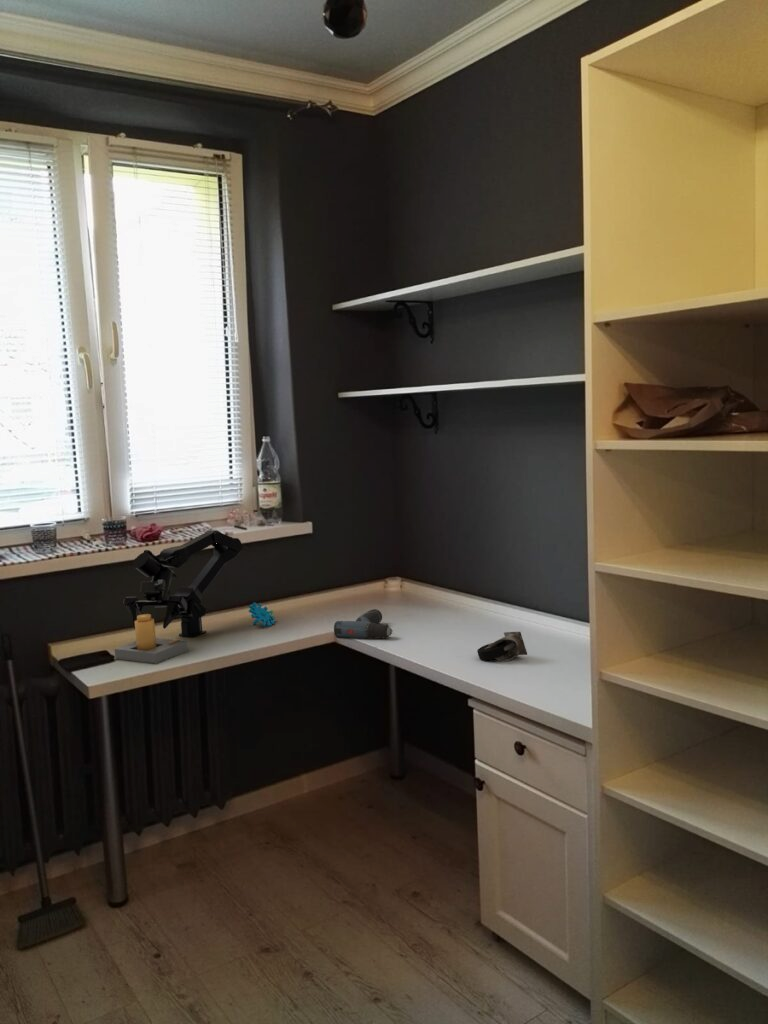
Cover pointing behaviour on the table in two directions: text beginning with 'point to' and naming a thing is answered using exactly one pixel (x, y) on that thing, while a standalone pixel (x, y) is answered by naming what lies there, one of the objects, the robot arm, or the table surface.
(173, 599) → the robot arm
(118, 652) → the block
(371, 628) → the power drill
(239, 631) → the table surface
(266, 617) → the gear
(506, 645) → the caster wheel
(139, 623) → the yellow cylinder
